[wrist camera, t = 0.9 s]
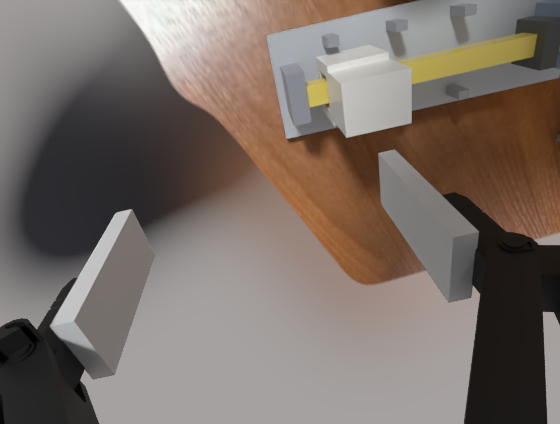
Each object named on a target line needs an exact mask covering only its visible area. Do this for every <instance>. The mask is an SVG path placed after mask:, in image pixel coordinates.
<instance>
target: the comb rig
mask: <svg viewBox="0 0 560 424" xmlns="http://www.w3.org/2000/svg"><path fill="white" fill-rule="evenodd" d="M266 39H267V44H268V49H269V54H270V59H271V64H272V69H273V74H274V79H275V85H276V90H277V95H278V100H279V105H280V110H281V115H282V120H283V125H284V130H285V135H286V139H289V138H294V137H298V136H303V135H307V134H311V133H316V132H320V131H325V130H329V129H334V128H338V126H334V125H333V124H332V123H331V121H330V120H329V119H328V117H327V116H326V114H325V113H324V112H323V109H322V105H323V104H327V103H329V97H328V89H327V81H326V77H325V78H321V79H318V71H317V64H316V57H318V56H322V55H327V54H331V53H336V52H340V51H344V50H349V49H353V48H357V47H362V46H366V45H371V46H374V47H377V48H380V49H382V50H385V51H388V52H389V59H391V60H394V61H396V62H399V63H401V64H404V65H406V66H409V67H411V68H412V111H414V110H418V109H423V108H427V107H432V106H436V105H441V104H445V103H450V102H454V101H459V100H463V99H467V98H472V97H476V96H481V95H485V94H490V93H494V92H499V91H503V90H508V89H512V88H516V87H521V86H525V85H530V84H534V83H539V82H543V81H548V80H552V79H557V78H559V76H560V0H416V1H411V2H407V3H403V4H398V5H394V6H390V7H385V8H381V9H377V10H372V11H368V12H364V13H359V14H355V15H351V16H347V17H342V18H338V19H334V20H329V21H325V22H321V23H316V24H312V25H308V26H303V27H299V28H295V29H290V30H286V31H282V32H277V33H273V34H269V35H266Z"/></svg>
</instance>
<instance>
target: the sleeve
mask: <svg viewBox="0 0 560 424" xmlns="http://www.w3.org/2000/svg"><path fill="white" fill-rule="evenodd" d="M316 64H317V71H318V79H321V78H325V77H326V81H327V89H328V97H329V103H327V104H323V105H322V109H323V112H324V113H325V114H326V116H327V117H328V119H329V120H330V121H331V123H332V124H333V125H334V126H338V127H339V129H340V130H341V131H342V133H343V134H344V135H345V137H346V138H348V137H352V136H357V135H361V134H366V133H370V132H375V131H379V130H384V129H388V128H393V127H397V126H401V125H406V124H410V123H412V68H411V67H409V66H406V65H404V64H401V63H399V62H396V61H394V60H391V59H389V52H388V51H385V50H382V49H380V48H377V47H374V46H371V45H366V46H362V47H357V48H353V49H349V50H344V51H340V52H336V53H331V54H327V55H322V56H318V57H316Z"/></svg>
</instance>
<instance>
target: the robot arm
mask: <svg viewBox="0 0 560 424" xmlns="http://www.w3.org/2000/svg"><path fill="white" fill-rule="evenodd" d="M378 158H379V175H380V192H381V205H382V206H383V207H384V209H385V210H386V212H387V213H388V215H389V216H390V218H391V219H392V221H393V222H394V224H395V225H396V227H397V228H398V229H399V231H400V232H401V234H402V235H403V237H404V238H405V240H406V241H407V243H408V244H409V246H410V247H411V248H412V250H413V251H414V253H415V254H416V256H417V257H418V259H419V260H420V262H421V263H422V265H423V266H424V267H425V269H426V270H427V272H428V273H429V275H430V276H431V277H432V279H433V280H434V282H435V284H436V285H437V286H438V288H439V289H440V291H441V292H442V294H443V295H444V297H445V298H446V299H447V301H448V302H454V301H458V300H463V299H467V298H471V295H472V287H473V286H474V287H475V288H476V289H477V290H478V292H479V293H480V302H479V308H478V315H477V324H476V333H475V340H474V348H473V356H472V364H471V371H470V380H469V387H468V395H467V403H466V410H465V418H464V424H547V405H546V385H545V384H546V382H545V357H544V333H543V312H554V313H555V315H556V318H557V320H558V322H559V324H560V245H538V243H537V242H535V241H534V240H533V239H532V238H530V237H527V236H525V235H523V234H518V233H514V232H506V231H505V230H504V229H502V228H501V227H500V226H499V225H498V224H497V223H496V222H494V221H493V220H492V219H491V218H490V217H489V216H488V215H486V214H485V213H483V212H482V210H481V209H480V208H478V207H476V205H475V204H474V203H473V202H472V201H471V200H469V199H468V198H467V197H465V196H462V195H460V194H457V193H455V192H454V193H449V194H445V195H441V194H440V193H439V192H438V191H437V190H436V189H435V188H434V187H433V186H432V185H431V184H430V183H429V182H428V181H427V180H426V179H425V178H424V177H423V176H422V175H421V174H419V173H418V172H417V171H416V170H415V169H414V168H413V167H412V166H411V165H410V164H409V163H408V162H407V161H406V160H405V159H404V158H403V157H402V156H401V155H400V154H399V153H398V152H397V151H396V150H395V149H394V150H390V151H385V152H381V153H378ZM154 256H155V254H154V252H153V251H152V248H151V246H150V244H149V242H148V240H147V238H146V236H145V235H144V232H143V230H142V228H141V226H140V224H139V223H138V221H137V219H136V217H135V215H134V213H133V211H132V209H131V210H127V211H122V212H118V213H116V214H115V215H114V217H113V219H112V220H111V222H110V224H109V226H108V227H107V229H106V231H105V232H104V234H103V236H102V237H101V239H100V241H99V243H98V245H97V246H96V248H95V249H94V251H93V253H92V255H91V256H90V258H89V260H88V262H87V263H86V265H85V267H84V268H83V270H82V272H81V273H80V275H79V277H78V278H73V279H72V280H71V281H70V282H69V283H68V284H67V285H66V286H65V287H64V288H63V289H62V290H61V292H60V293H59V295H58V296H57V298H56V301H54V303H53V304H52V306H51V310H49V311H48V313H47V314H46V316H45V317H44V319H43V321H42V322H41V324H40V326H39V327H38V329H37V330H36V329H35V327H34V326H33V325H32V324H31V323H30V321H29V320H28V319H22V318H21V319H17V320H13V321H11V322H9V323H7V324H5V325H3V326H2V327H0V424H99V422H98V420H97V417H96V415H95V412H94V409H93V406H92V404H91V401H90V398H89V395H88V393H87V390H86V387H85V386H84V385H83V383H82V382H81V381H80V379H81V376H82V374H83V372H84V369H85V370H86V372H87V373H88V374H89V375H90V376H91V378H92V379H97V378H102V377H107V376H111V375H114V374H115V372H116V369H117V366H118V363H119V360H120V357H121V354H122V351H123V348H124V345H125V342H126V339H127V336H128V333H129V330H130V327H131V324H132V321H133V318H134V315H135V312H136V309H137V306H138V304H139V300H140V298H141V294H142V292H143V289H144V286H145V283H146V280H147V276H148V274H149V271H150V268H151V265H152V262H153V259H154Z"/></svg>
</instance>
